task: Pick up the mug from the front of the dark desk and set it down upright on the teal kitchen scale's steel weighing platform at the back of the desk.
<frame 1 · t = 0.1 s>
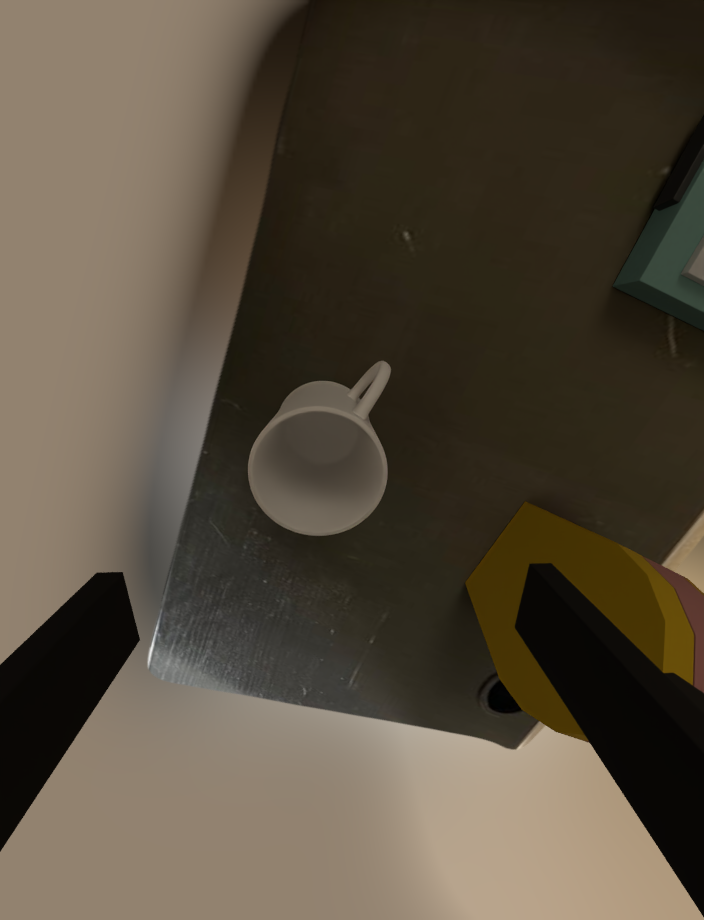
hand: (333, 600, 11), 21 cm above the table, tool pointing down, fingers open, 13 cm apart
mug: (335, 414, 30), on the table
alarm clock: (522, 556, 36), on the table
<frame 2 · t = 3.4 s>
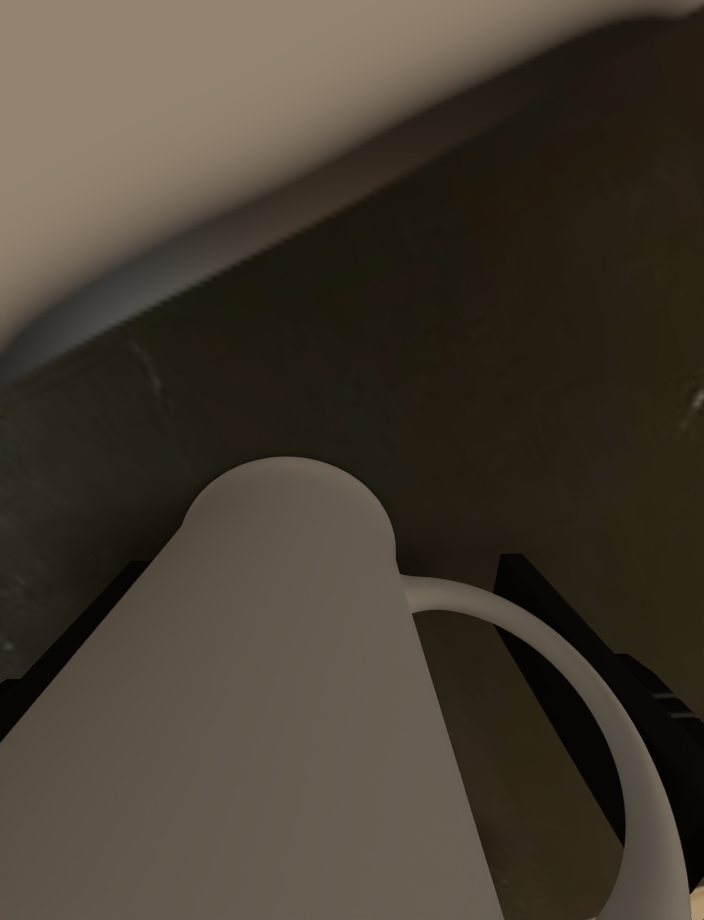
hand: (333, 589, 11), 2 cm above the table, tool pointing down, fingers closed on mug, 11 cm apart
mug: (330, 547, 13), on the table, touching gripper
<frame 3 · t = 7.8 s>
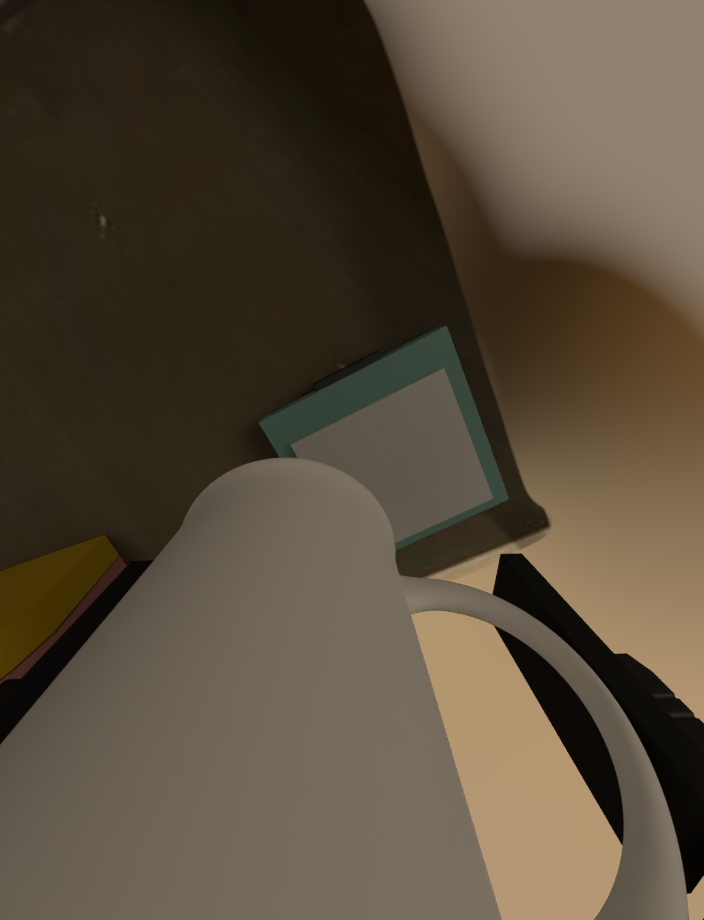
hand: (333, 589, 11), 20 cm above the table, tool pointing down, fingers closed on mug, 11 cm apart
mug: (330, 548, 14), point 18 cm above the table, touching gripper
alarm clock: (79, 582, 34), on the table
scale: (387, 454, 31), on the table
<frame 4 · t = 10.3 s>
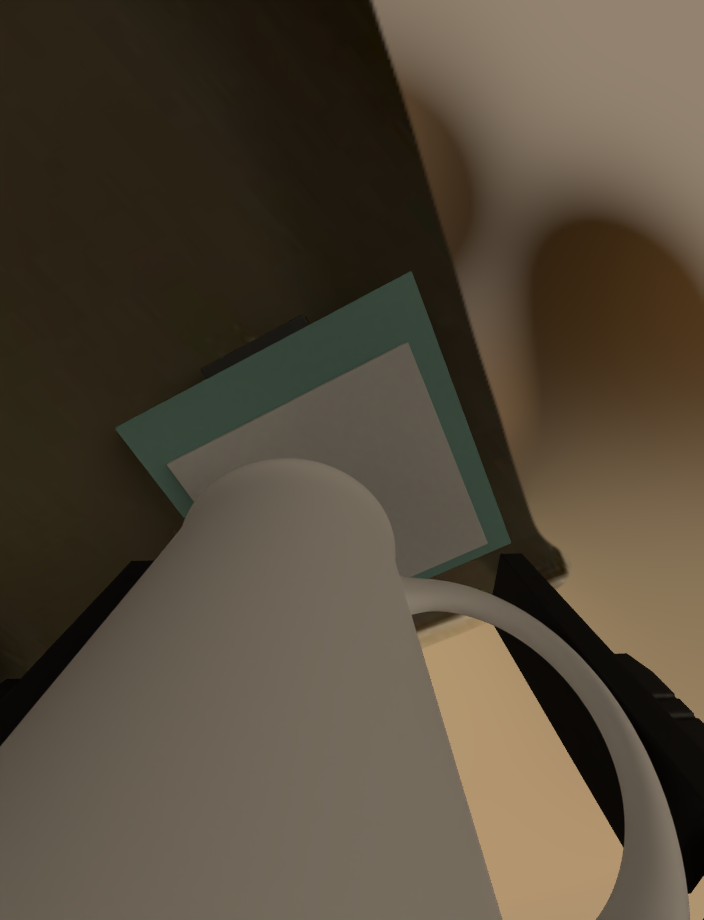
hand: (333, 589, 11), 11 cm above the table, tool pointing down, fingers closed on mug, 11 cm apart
mug: (330, 548, 14), point 8 cm above the table, touching gripper
scale: (332, 475, 21), on the table
when the fingers open (5 cm above the table, at t = 12.2 s): mug stays where it is, resting on scale.
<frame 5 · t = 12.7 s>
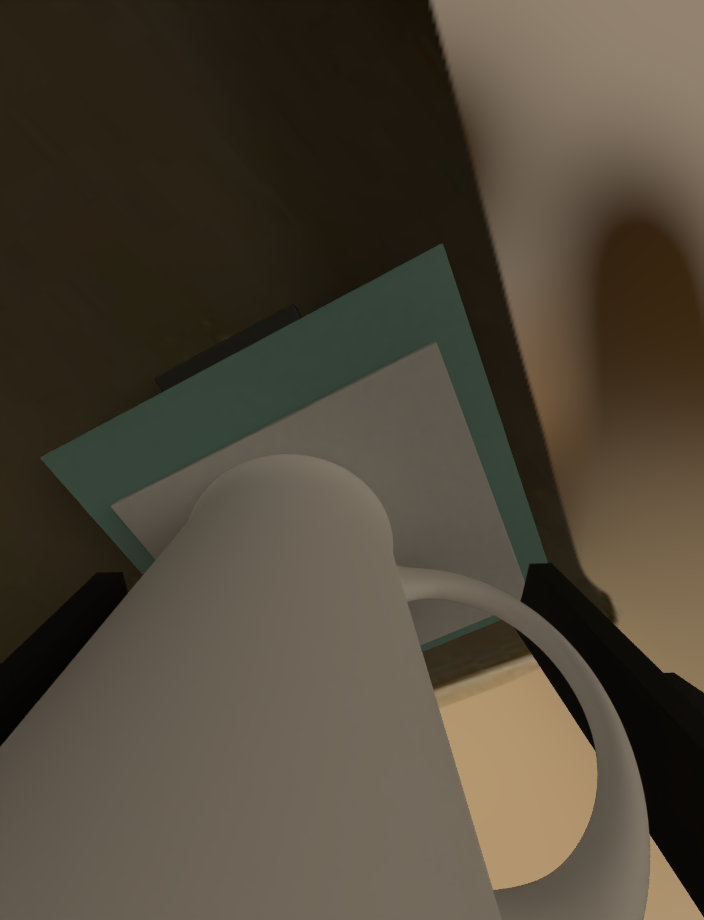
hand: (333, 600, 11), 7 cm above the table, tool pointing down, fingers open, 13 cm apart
mug: (330, 541, 14), point 3 cm above the table, touching scale
scale: (333, 509, 17), on the table
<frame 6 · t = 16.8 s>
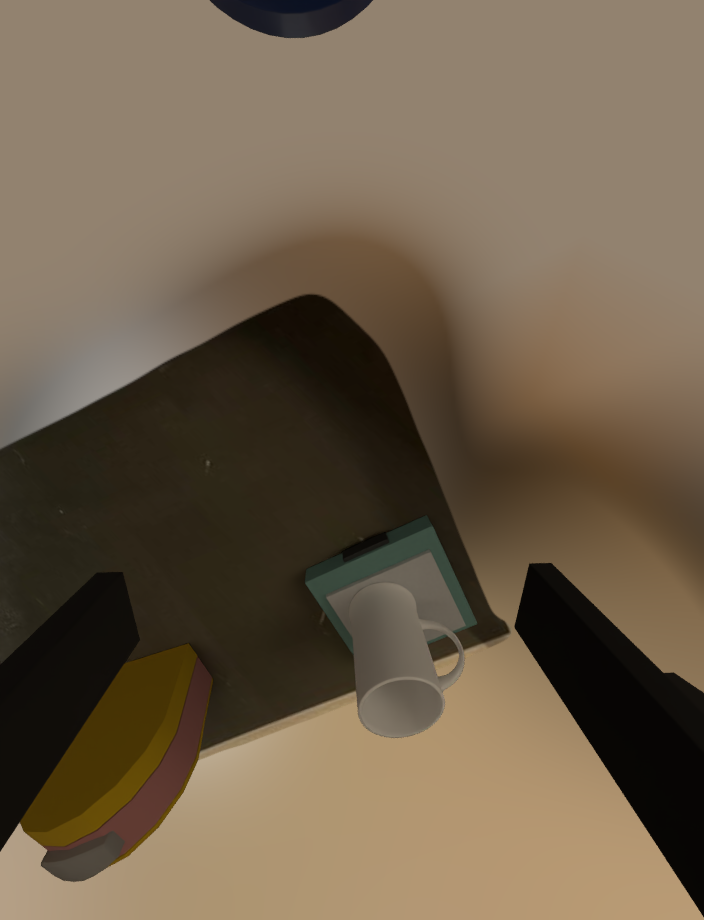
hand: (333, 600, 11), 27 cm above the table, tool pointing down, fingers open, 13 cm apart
mug: (394, 606, 41), point 3 cm above the table, touching scale
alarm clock: (166, 673, 47), on the table
scale: (391, 590, 44), on the table
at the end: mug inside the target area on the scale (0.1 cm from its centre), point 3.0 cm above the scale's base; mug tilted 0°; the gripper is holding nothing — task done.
